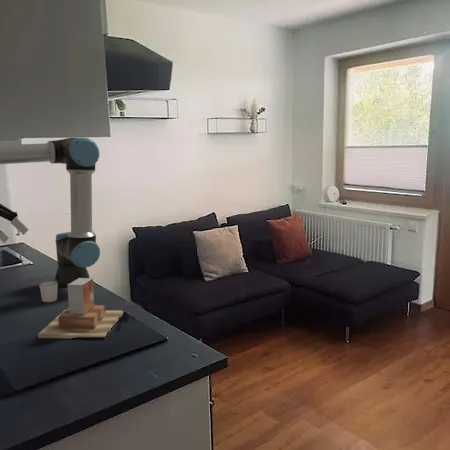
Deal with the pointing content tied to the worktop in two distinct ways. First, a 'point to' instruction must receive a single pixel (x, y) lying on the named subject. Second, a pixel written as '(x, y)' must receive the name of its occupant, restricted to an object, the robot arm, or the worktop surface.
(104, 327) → the tower base
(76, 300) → the small box
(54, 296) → the shot glass
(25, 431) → the worktop surface
